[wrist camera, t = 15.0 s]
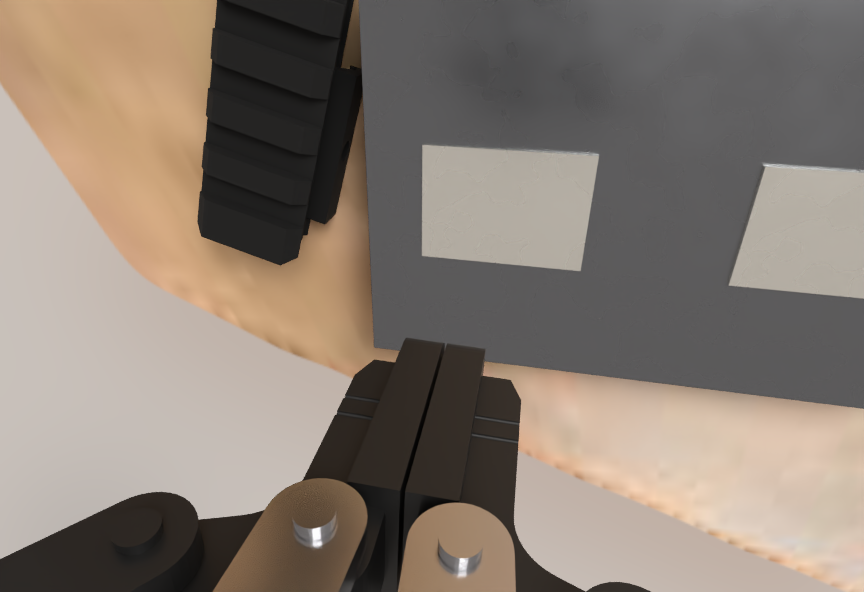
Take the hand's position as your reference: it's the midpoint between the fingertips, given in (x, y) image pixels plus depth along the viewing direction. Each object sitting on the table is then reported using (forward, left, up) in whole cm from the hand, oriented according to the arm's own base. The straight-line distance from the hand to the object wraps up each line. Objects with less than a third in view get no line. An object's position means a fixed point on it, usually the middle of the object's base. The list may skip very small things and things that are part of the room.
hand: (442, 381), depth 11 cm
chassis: (+9, -2, -18) cm, 21 cm away
